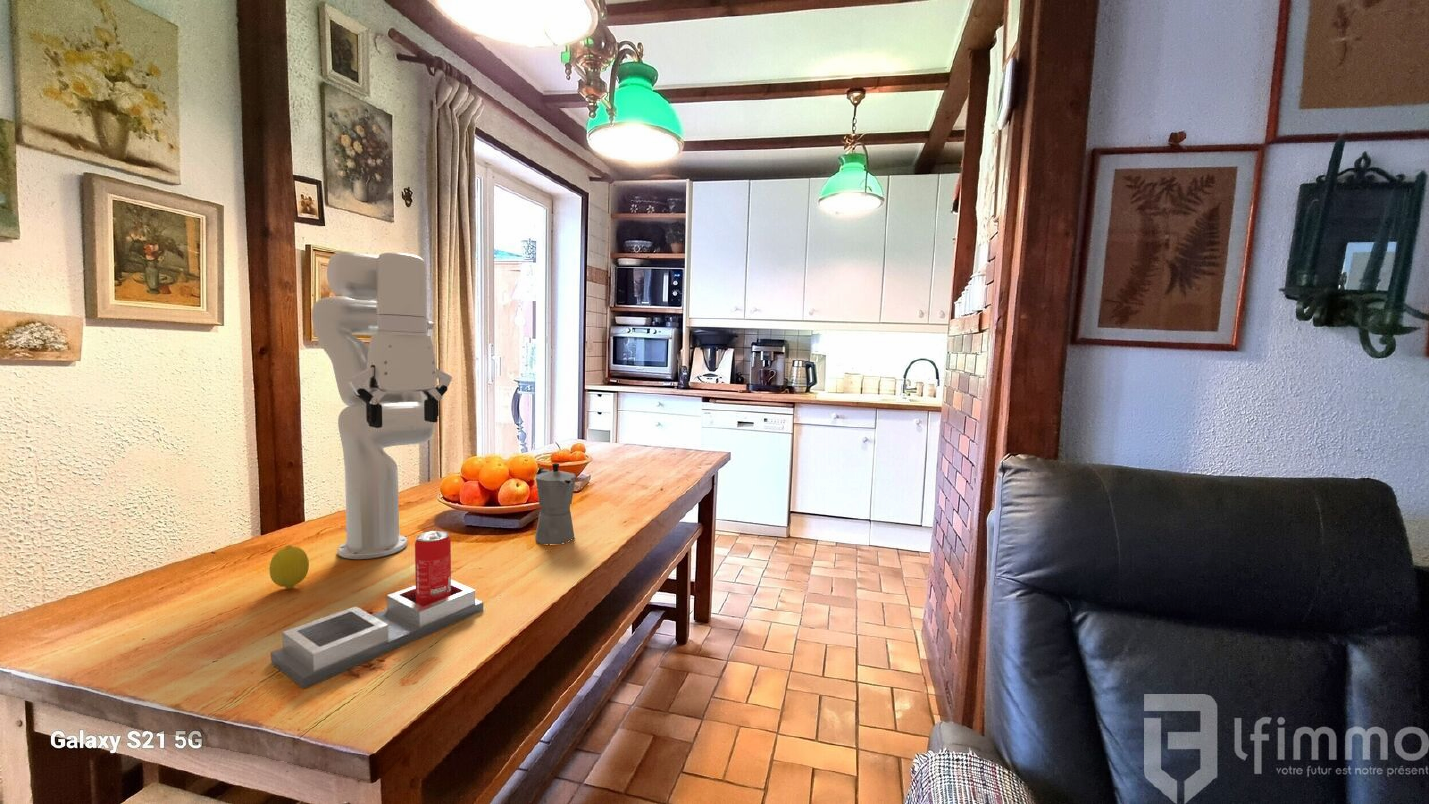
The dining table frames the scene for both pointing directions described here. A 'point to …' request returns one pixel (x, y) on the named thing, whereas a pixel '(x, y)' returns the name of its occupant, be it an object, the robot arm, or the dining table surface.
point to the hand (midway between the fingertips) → (404, 424)
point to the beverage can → (432, 567)
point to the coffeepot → (554, 505)
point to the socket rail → (367, 633)
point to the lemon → (289, 566)
